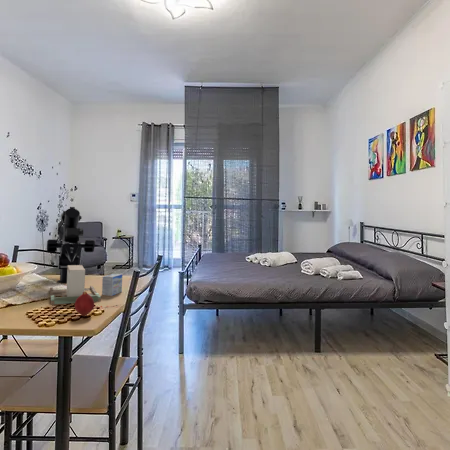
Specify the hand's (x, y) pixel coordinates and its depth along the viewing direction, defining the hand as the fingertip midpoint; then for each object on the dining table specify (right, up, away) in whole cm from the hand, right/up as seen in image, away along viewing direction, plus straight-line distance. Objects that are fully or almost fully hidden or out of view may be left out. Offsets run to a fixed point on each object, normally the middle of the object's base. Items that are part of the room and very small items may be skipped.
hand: (71, 261), depth 146 cm
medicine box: (+19, -14, -7) cm, 24 cm away
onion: (+19, -14, -34) cm, 41 cm away
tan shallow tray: (+6, -13, -13) cm, 19 cm away
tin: (+9, -12, -17) cm, 22 cm away
